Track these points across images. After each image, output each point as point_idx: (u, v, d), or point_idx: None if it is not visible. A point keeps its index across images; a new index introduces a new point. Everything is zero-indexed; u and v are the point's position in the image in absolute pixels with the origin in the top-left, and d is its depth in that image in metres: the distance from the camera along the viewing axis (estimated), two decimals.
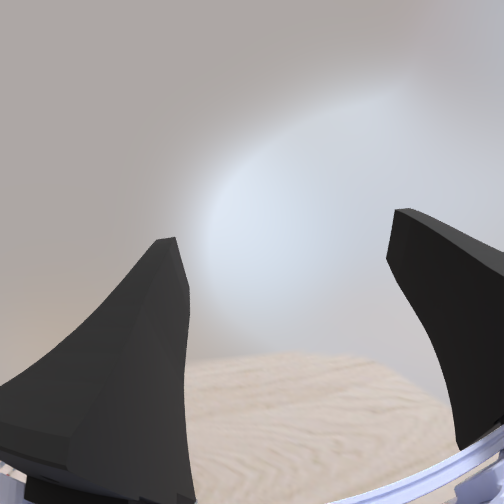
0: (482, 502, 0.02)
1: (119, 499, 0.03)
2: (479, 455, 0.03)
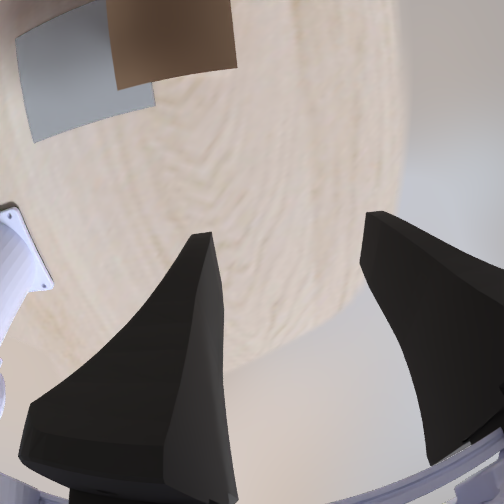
0: (482, 502, 0.02)
1: None
2: (479, 455, 0.03)
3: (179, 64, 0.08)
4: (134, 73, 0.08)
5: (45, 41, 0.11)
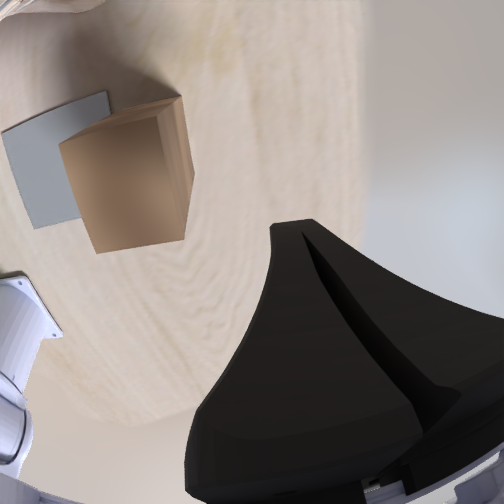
0: (482, 502, 0.02)
1: (351, 483, 0.03)
2: (479, 455, 0.03)
3: (139, 238, 0.12)
4: (106, 243, 0.11)
5: (29, 141, 0.15)
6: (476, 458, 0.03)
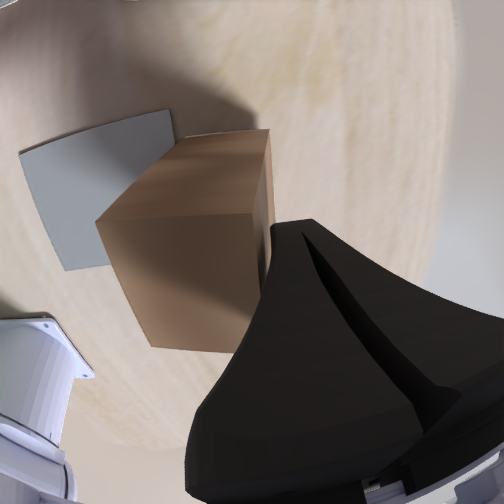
0: (482, 502, 0.02)
1: (352, 483, 0.03)
2: (479, 455, 0.03)
3: (208, 344, 0.09)
4: (164, 340, 0.09)
5: (58, 166, 0.13)
6: (476, 458, 0.03)
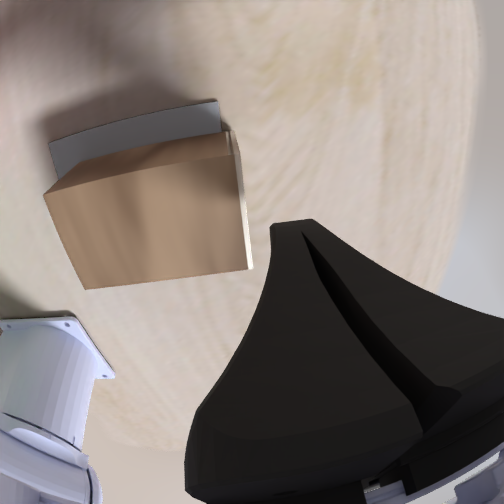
0: (482, 502, 0.02)
1: (351, 483, 0.03)
2: (479, 455, 0.03)
3: None
4: None
5: (93, 156, 0.13)
6: (476, 458, 0.03)
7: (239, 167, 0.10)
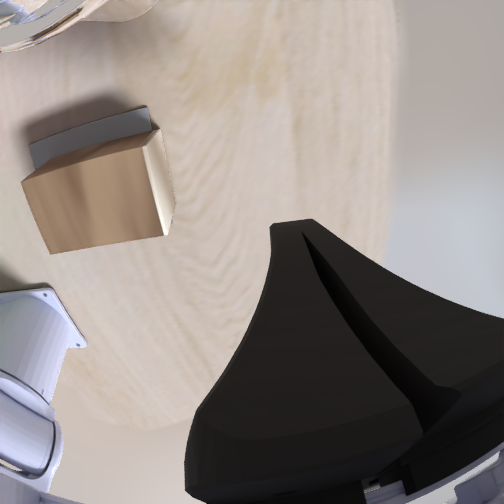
0: (482, 502, 0.02)
1: (351, 483, 0.03)
2: (479, 455, 0.03)
3: None
4: None
5: (61, 154, 0.16)
6: (476, 458, 0.03)
7: (146, 155, 0.13)
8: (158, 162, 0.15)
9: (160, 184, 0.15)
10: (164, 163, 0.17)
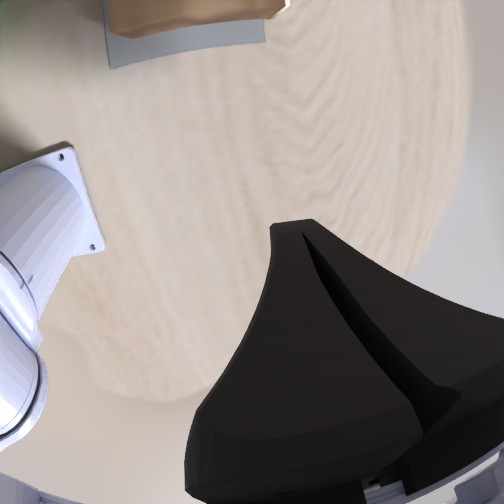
0: (482, 502, 0.02)
1: (351, 483, 0.03)
2: (479, 455, 0.03)
3: None
4: None
5: None
6: (476, 458, 0.03)
7: None
8: None
9: None
10: None
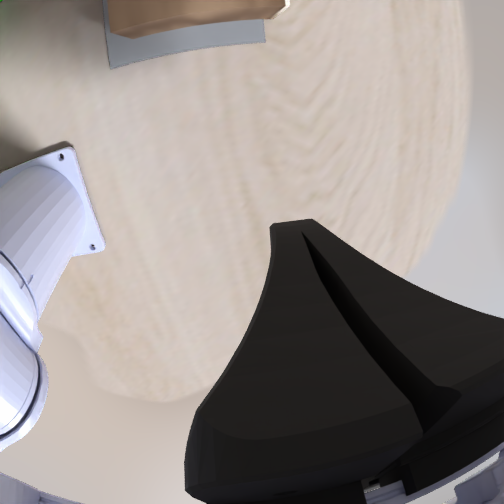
0: (482, 502, 0.02)
1: (351, 483, 0.03)
2: (479, 455, 0.03)
3: None
4: None
5: None
6: (476, 458, 0.03)
7: None
8: None
9: None
10: None
